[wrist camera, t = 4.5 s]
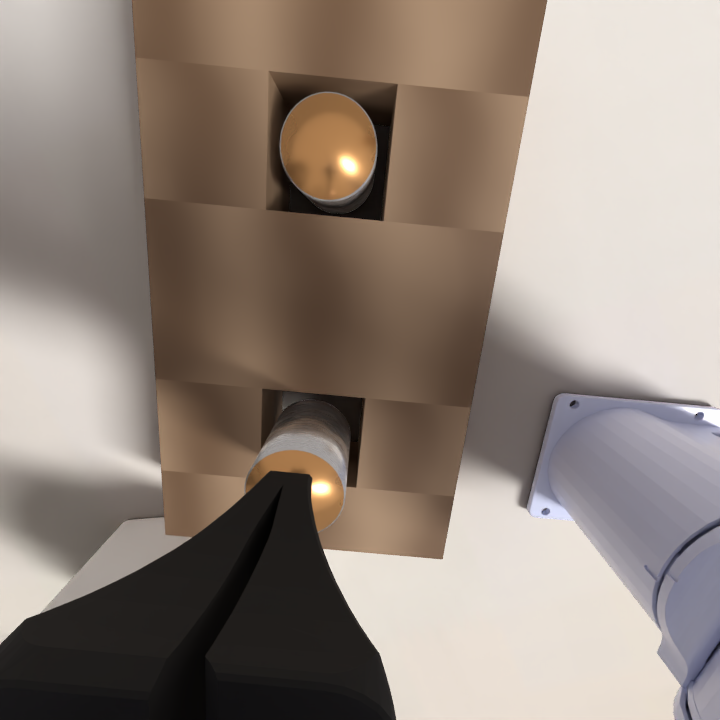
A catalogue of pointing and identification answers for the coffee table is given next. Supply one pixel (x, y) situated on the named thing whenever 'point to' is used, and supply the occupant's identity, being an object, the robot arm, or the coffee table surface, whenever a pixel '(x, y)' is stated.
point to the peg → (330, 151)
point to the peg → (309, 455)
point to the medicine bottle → (120, 557)
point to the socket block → (326, 242)
